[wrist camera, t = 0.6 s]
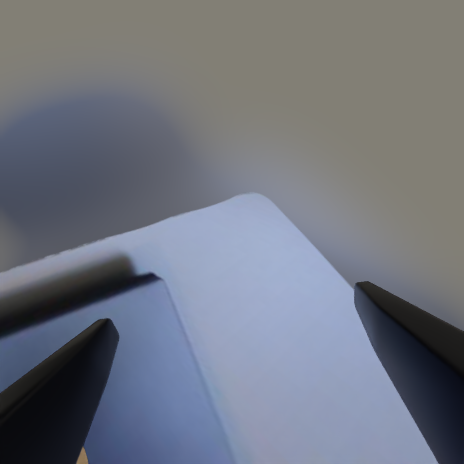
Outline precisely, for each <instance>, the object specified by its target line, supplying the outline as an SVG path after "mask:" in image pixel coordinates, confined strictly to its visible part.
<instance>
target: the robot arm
mask: <svg viewBox="0 0 464 464" xmlns="http://www.w3.org/2000/svg"><path fill="white" fill-rule="evenodd" d="M354 303H355V307H356V310H357V312H358V314H359V317H360V319H361V321H362V324H363V326H364V328H365V330H366V333H367V335H368V337H369V340H370V342H371V344H372V346H373V348H374V351H375V352H376V354H377V356H378V358H379V360H380V361H381V363H382V365H383V367H384V368H385V370H386V372H387V374H388V375H389V377H390V379H391V381H392V382H393V384H394V386H395V388H396V389H397V391H398V393H399V395H400V396H401V398H402V400H403V402H404V403H405V405H406V407H407V409H408V410H409V412H410V414H411V416H412V417H413V419H414V421H415V423H416V424H417V426H418V428H419V430H420V431H421V433H422V435H423V437H424V438H425V440H426V442H427V444H428V445H429V447H430V449H431V451H432V452H433V454H434V456H435V458H436V459H437V461H438V463H439V464H464V331H462V330H460V329H458V328H456V327H454V326H452V325H450V324H449V323H447V322H445V321H443V320H441V319H439V318H437V317H435V316H433V315H431V314H430V313H428V312H426V311H424V310H422V309H420V308H418V307H416V306H414V305H412V304H410V303H409V302H407V301H405V300H403V299H401V298H399V297H397V296H395V295H393V294H391V293H389V292H388V291H386V290H384V289H382V288H380V287H378V286H376V285H374V284H373V283H370V282H368V281H365V282H358V283H356V284H355V286H354ZM118 341H119V333H118V331H117V329H116V328H115V326H114V324H113V322H112V320H111V319H109V318H106V319H100V320H97V321H96V322H94V323H93V324H92V325H90V326H89V327H88V328H86V329H85V330H84V331H82V332H81V333H80V334H78V335H77V336H76V337H74V338H73V339H72V340H70V341H69V342H68V343H66V344H65V345H64V346H62V347H61V348H60V349H58V350H57V351H56V352H54V353H53V354H52V355H50V356H49V357H48V358H46V359H45V360H44V361H42V362H41V363H40V364H38V365H37V366H36V367H34V368H33V369H32V370H30V371H29V372H28V373H26V374H25V375H24V376H22V377H21V378H20V379H19V380H17V381H16V382H15V383H13V384H12V385H11V386H9V387H8V388H7V389H5V390H4V391H3V392H1V393H0V464H76V463H77V461H78V458H79V455H80V453H81V450H82V447H83V445H84V442H85V439H86V437H87V434H88V431H89V429H90V426H91V423H92V421H93V418H94V416H95V413H96V410H97V408H98V405H99V402H100V400H101V397H102V394H103V392H104V389H105V386H106V383H107V380H108V377H109V374H110V370H111V367H112V363H113V360H114V356H115V352H116V349H117V345H118Z"/></svg>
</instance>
